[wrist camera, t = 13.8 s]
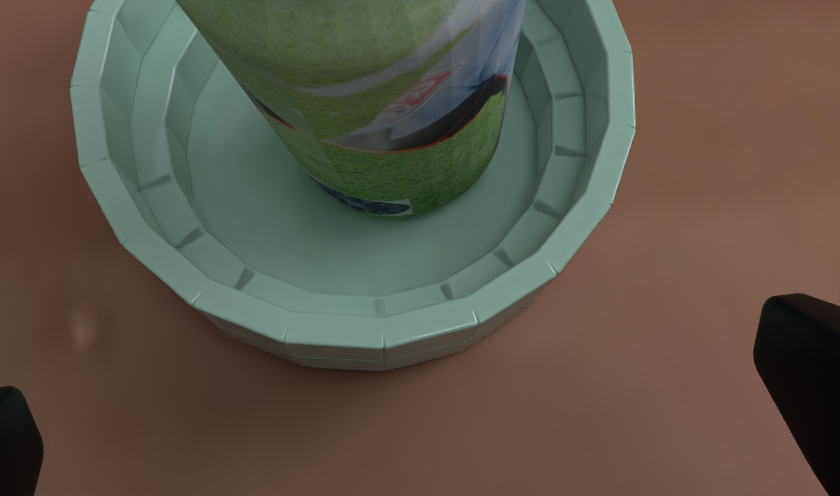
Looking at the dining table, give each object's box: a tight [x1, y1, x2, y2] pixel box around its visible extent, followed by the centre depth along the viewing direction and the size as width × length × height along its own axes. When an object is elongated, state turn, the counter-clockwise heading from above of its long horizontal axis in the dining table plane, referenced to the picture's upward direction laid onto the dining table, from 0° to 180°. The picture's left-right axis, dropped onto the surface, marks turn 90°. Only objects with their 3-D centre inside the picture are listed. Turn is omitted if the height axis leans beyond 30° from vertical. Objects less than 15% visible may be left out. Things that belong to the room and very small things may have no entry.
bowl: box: [69, 0, 636, 371], centre depth 18 cm, size 13×13×4 cm
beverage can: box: [176, 0, 526, 218], centre depth 14 cm, size 6×7×12 cm
